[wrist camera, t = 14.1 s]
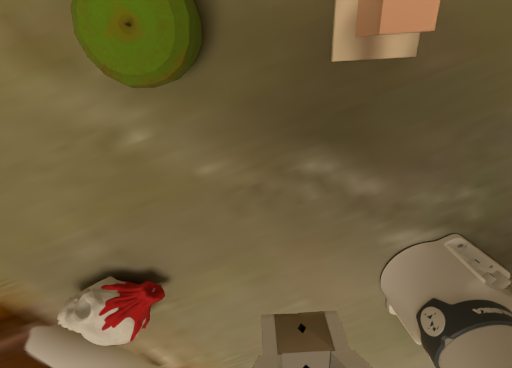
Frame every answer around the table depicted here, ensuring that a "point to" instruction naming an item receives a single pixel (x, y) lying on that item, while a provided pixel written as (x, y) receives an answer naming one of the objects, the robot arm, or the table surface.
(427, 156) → the table surface
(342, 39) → the post stand
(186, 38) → the apple
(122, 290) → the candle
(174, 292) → the table surface
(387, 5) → the salmon orange block
